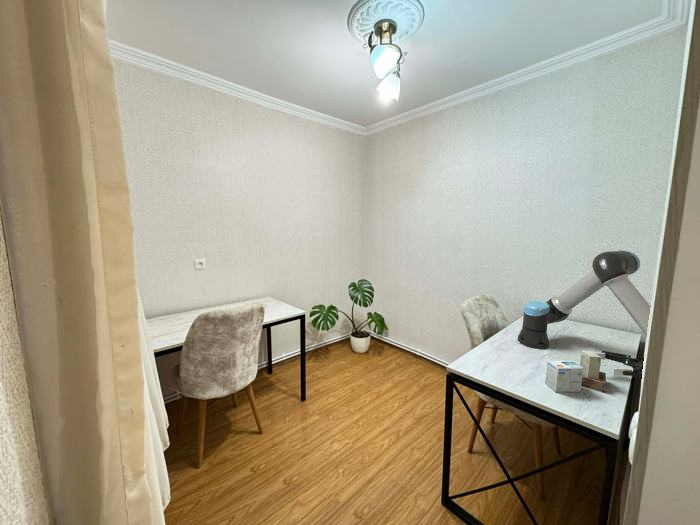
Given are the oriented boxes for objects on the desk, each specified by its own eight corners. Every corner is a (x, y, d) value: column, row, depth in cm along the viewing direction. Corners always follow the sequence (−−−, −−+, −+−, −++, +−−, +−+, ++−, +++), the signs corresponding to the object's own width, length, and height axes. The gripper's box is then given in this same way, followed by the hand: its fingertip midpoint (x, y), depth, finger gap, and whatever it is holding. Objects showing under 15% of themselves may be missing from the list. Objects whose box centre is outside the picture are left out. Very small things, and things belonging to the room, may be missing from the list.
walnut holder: (570, 382, 122) (571, 374, 121) (572, 372, 130) (573, 364, 129) (604, 392, 115) (606, 383, 114) (604, 381, 123) (605, 372, 122)
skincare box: (598, 384, 119) (602, 357, 117) (586, 383, 120) (590, 356, 118) (588, 376, 125) (592, 350, 123) (577, 375, 126) (581, 349, 124)
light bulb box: (568, 383, 122) (571, 359, 120) (581, 392, 115) (584, 367, 113) (543, 383, 121) (546, 359, 120) (555, 392, 115) (558, 368, 113)
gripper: (685, 392, 106) (623, 388, 108) (628, 359, 131) (578, 357, 133) (689, 373, 105) (626, 370, 107) (631, 344, 130) (580, 342, 132)
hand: (600, 362), depth 120 cm, fingers open, 13 cm apart
